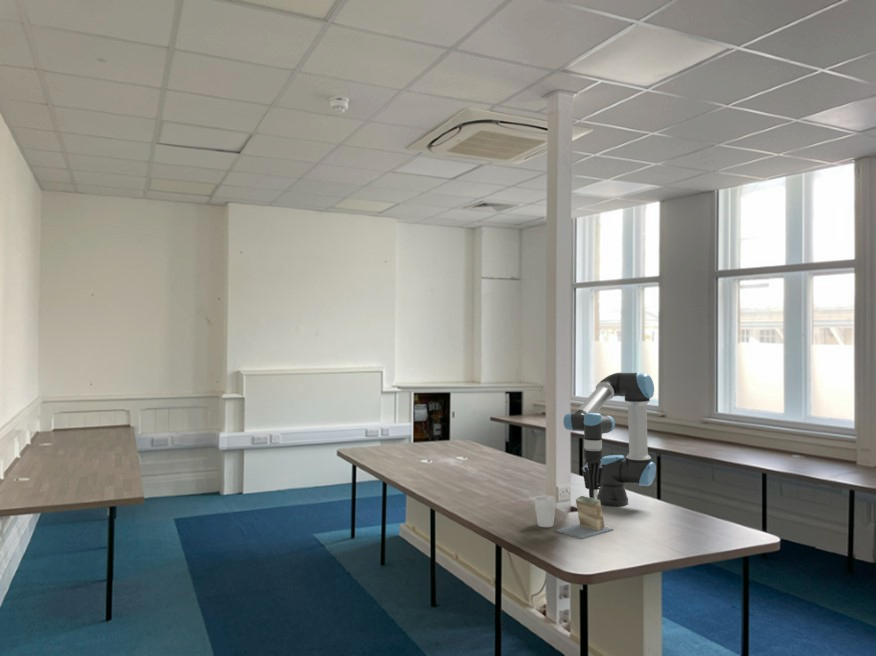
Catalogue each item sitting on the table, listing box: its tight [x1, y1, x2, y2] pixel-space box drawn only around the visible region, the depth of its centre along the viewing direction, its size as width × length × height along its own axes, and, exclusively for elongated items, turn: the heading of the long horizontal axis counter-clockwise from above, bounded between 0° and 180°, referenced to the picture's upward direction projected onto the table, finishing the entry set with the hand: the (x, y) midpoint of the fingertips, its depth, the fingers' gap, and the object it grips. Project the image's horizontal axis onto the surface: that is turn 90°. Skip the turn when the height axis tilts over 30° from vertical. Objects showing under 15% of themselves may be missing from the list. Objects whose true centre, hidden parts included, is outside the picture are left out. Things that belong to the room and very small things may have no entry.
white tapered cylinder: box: [534, 494, 557, 528], centre depth 288 cm, size 9×9×12 cm
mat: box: [555, 523, 614, 540], centre depth 279 cm, size 20×14×1 cm
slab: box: [575, 495, 606, 531], centre depth 282 cm, size 4×10×12 cm, turn 37°
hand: (593, 504), depth 283 cm, fingers closed
